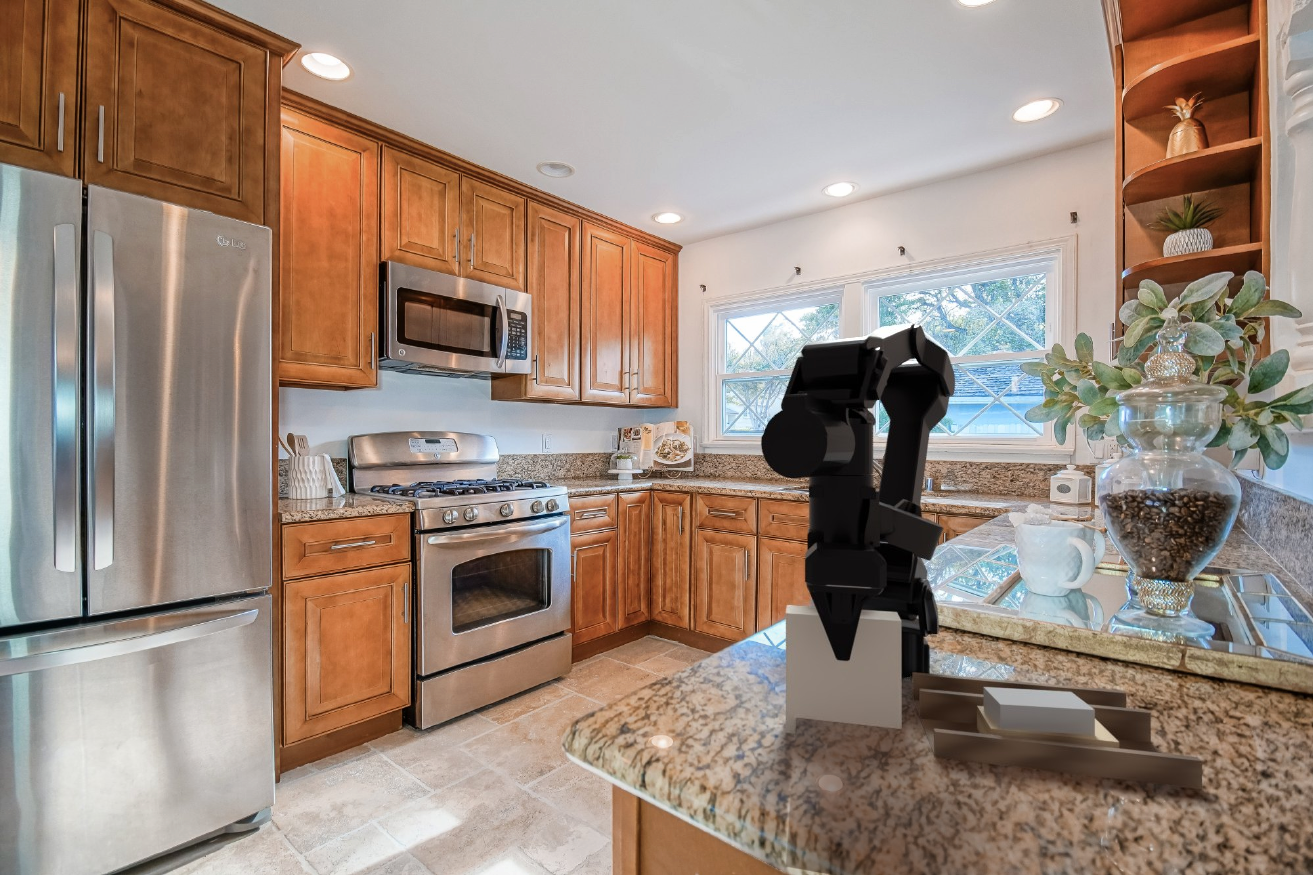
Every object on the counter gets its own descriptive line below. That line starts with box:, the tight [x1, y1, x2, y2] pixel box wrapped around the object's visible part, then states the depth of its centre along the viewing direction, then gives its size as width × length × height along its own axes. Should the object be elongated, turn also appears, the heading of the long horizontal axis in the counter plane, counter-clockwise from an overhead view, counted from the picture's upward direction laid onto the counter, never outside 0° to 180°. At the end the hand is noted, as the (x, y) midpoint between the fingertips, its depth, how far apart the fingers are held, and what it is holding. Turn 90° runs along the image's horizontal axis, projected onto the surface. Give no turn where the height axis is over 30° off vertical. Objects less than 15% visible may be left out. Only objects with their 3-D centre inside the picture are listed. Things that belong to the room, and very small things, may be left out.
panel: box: [785, 604, 903, 735], centre depth 57 cm, size 10×3×11 cm, turn 76°
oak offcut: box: [977, 706, 1119, 748], centre depth 51 cm, size 9×4×2 cm, turn 76°
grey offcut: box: [984, 687, 1095, 735], centre depth 51 cm, size 7×4×2 cm, turn 82°
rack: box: [909, 672, 1203, 790], centre depth 54 cm, size 18×14×4 cm
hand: (840, 643), depth 57 cm, fingers open, 9 cm apart
